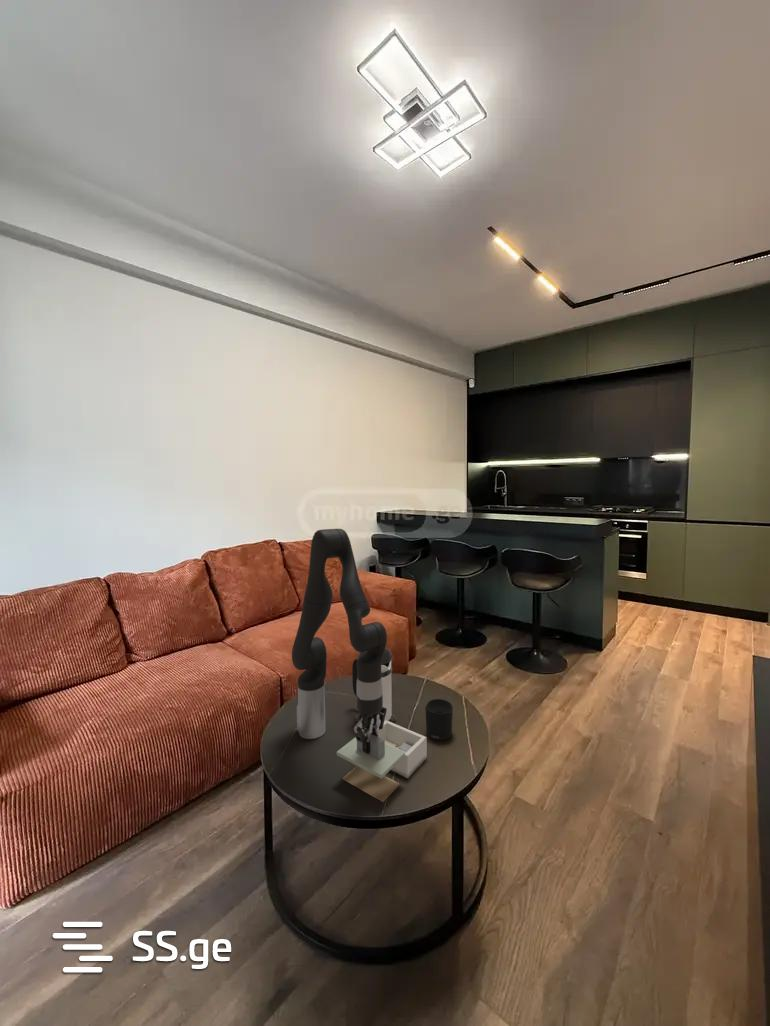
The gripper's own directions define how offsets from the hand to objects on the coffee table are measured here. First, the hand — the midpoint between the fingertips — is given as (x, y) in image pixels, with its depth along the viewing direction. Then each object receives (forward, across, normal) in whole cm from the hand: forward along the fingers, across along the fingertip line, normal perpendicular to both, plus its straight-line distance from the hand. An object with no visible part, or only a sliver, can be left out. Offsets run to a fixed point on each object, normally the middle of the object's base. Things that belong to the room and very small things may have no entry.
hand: (370, 748), depth 119 cm
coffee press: (+10, -25, -19) cm, 33 cm away
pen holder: (+10, -32, +5) cm, 34 cm away
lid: (+3, 0, 0) cm, 3 cm away
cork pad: (+10, 0, 0) cm, 10 cm away
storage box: (+10, -13, 0) cm, 17 cm away
